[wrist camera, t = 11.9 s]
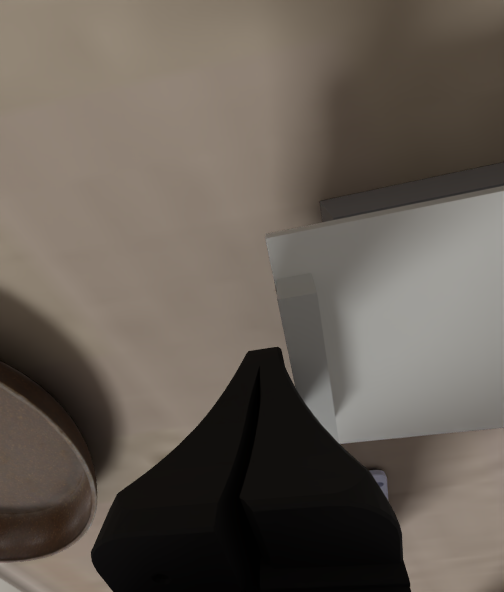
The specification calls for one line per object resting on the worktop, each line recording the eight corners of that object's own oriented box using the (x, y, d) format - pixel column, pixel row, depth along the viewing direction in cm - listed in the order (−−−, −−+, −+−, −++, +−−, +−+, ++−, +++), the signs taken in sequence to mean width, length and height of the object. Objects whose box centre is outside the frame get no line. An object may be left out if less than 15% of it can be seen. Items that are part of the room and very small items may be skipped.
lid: (526, 413, 14) (569, 458, 12) (307, 436, 15) (312, 480, 13) (573, 171, 10) (652, 178, 8) (265, 233, 11) (263, 253, 9)
